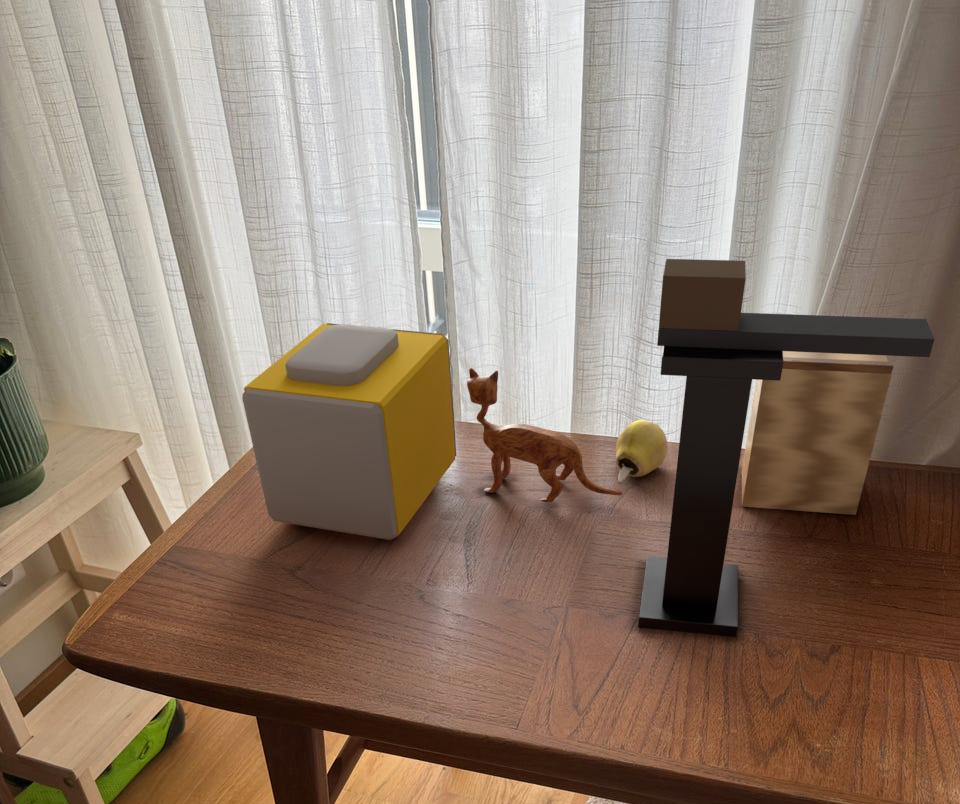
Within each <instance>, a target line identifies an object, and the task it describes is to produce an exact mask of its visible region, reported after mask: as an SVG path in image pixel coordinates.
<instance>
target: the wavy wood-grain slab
mask: <svg viewBox="0 0 960 804" xmlns="http://www.w3.org/2000/svg"><path fill="white" fill-rule="evenodd" d="M783 362H784V363H783V369H782V374H781V380H780V381H777V380H757V379H755V384H754V390H753V398H752V403H751V410H750V415H749V416H750V417H749V422H748V423H749V424H748V427H747V428H748V429H747V435H746V442H745V448H744V455H743V460H742V466H741V507H745V508H757V509H770V510H771V509H772V510H784V511H797V512H810V513H823V514H824V513H825V514H839V515H851V516H856V515H857V512H858V509H859V505H860V504H859V503H860V500H861V496H862V492H863V489H864V485H865V482H866V481H865V480H866V477H867V474H868V469H869V466H870V461H871V457H872V453H873V450H874V446H875V442H876V438H877V434H878V430H879V426H880V423H881V419H882V415H883V410H884V407H885V403H886V399H887V395H888V391H889V387H890V383H891V379H892V377H893V374H892V373H893V370H894V363H893V361H889V360H888V356H887V355H863V354H840V353H816V352H792V351H783Z"/></svg>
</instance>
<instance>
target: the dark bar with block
mask: <svg viewBox="0 0 960 804" xmlns="http://www.w3.org/2000/svg"><path fill="white" fill-rule="evenodd" d="M746 270H747V269H746V260H732V259H730V260H729V259H728V260H727V259H726V260H725V259H691V258H690V259H689V258H688V259H687V258H686V259H685V258H666V259H665V263H664V270H663V275H662V283H661V294H660V308H659V321H658V332H657V346H658V347H664V346H674V347H698V348H721V349H745V350H769V351H792V352H816V353H840V354H863V355H886V357H889V356H891V357H913V358H930V356H931V353H932V350H933V345H934V342H935V337H934V335H933V331H932V330H931V327H930V325H929V323H928V320H927V319H926V318H907V317H905V318H903V317H875V316H874V317H873V316H849V315H846V316H845V315H819V314H816V315H815V314H790V313H784V314H783V313H764V312H763V313H762V312H761V313H759V312H742V308H743V301H744V292H745V286H746V280H747V279H746V272H747V271H746Z"/></svg>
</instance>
